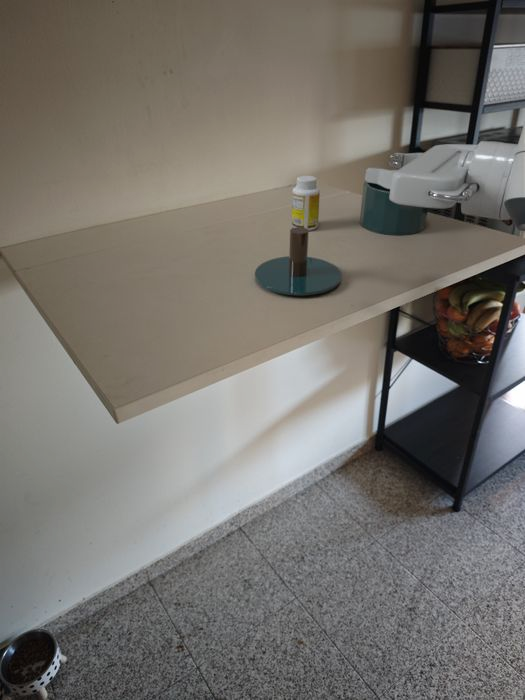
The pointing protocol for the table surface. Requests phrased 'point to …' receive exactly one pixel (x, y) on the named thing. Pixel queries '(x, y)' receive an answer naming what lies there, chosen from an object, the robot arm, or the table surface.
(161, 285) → the table surface
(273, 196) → the table surface
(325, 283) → the lid
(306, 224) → the supplement bottle
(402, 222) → the pot
